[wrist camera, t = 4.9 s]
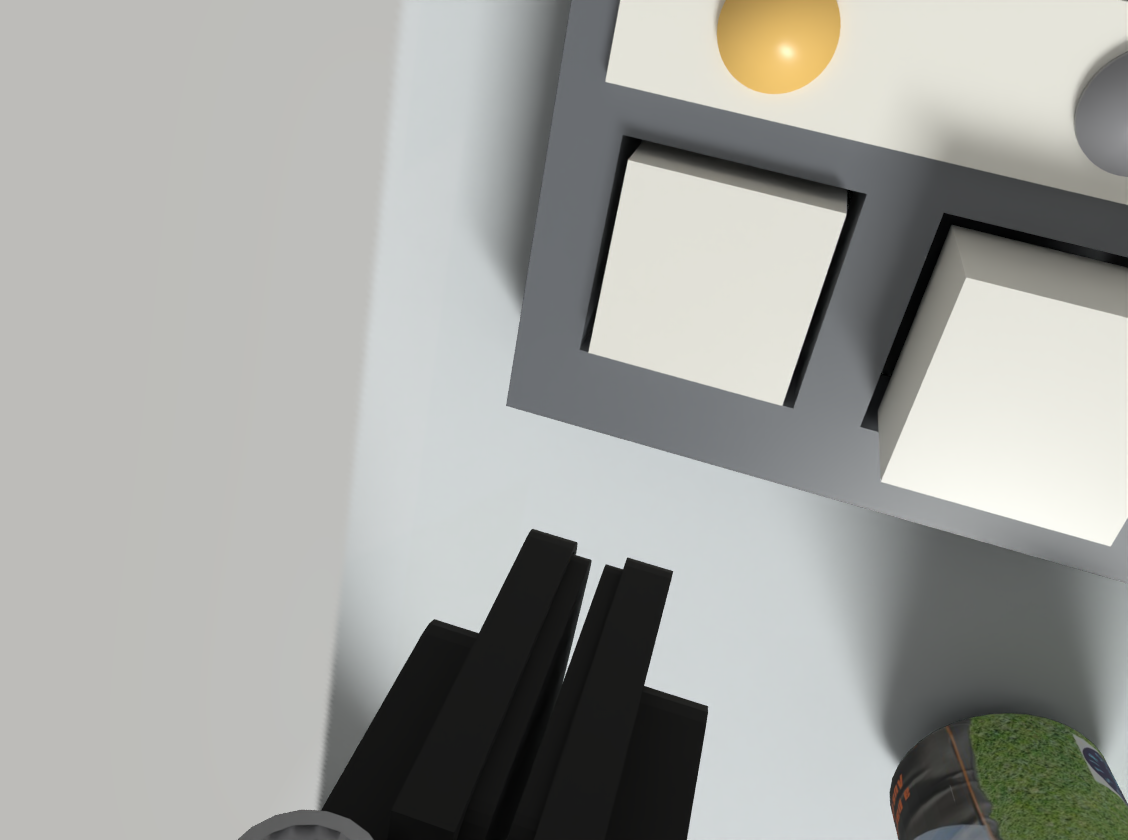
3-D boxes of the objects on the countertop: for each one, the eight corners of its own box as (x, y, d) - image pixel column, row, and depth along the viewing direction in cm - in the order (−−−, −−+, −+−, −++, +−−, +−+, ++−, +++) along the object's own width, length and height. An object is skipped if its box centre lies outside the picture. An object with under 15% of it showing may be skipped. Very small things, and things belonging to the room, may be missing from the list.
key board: (1369, 584, 23) (1444, 687, 20) (539, 354, 26) (499, 415, 23) (1776, 73, 17) (1970, 115, 14) (629, -158, 20) (590, -163, 17)
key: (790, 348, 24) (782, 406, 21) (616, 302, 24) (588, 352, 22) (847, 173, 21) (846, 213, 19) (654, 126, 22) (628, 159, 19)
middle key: (1080, 465, 21) (1110, 546, 19) (877, 411, 22) (880, 482, 19) (1180, 280, 19) (1231, 344, 16) (951, 224, 19) (966, 277, 17)
